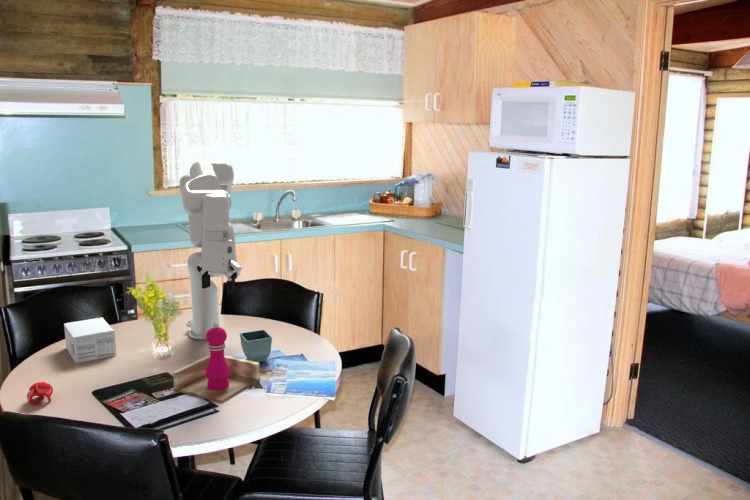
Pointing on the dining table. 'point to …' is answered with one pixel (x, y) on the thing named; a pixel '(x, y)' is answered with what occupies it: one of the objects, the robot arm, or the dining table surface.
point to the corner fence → (199, 366)
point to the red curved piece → (39, 391)
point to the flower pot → (256, 345)
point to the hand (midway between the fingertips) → (218, 290)
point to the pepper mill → (217, 359)
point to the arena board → (202, 390)
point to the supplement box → (90, 339)
